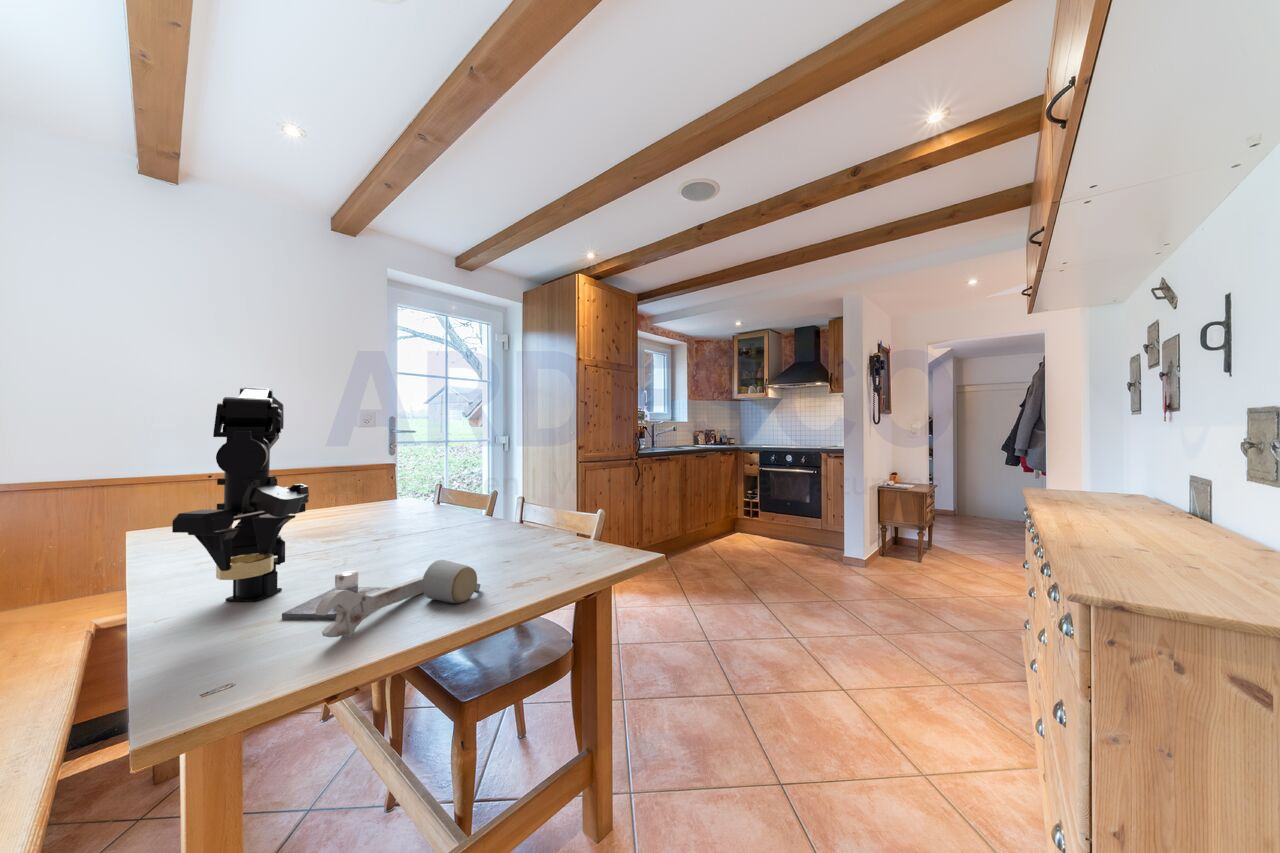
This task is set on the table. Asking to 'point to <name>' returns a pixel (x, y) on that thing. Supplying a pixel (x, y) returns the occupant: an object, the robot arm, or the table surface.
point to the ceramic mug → (449, 582)
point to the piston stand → (342, 582)
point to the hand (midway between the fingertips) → (246, 564)
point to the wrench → (361, 605)
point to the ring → (247, 566)
